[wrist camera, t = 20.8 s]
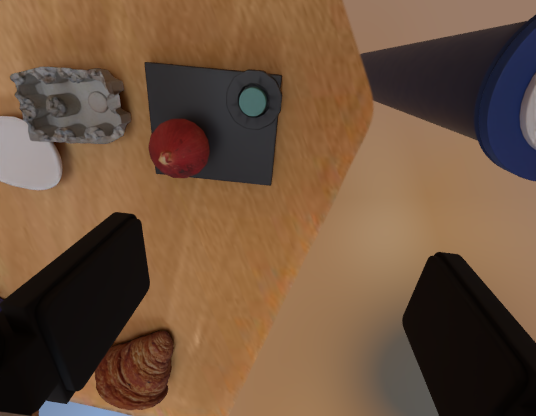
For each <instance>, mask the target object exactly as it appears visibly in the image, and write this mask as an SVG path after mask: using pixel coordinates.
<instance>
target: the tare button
mask: <svg viewBox="0 0 536 416" xmlns="http://www.w3.org/2000/svg"><path fill="white" fill-rule="evenodd" d="M266 104H267V97H266V95H265V93H264V91H263V90H262V89H260V88H258V87H249V88H247V89H245V90H244V91H243V92H242V93H241V95H240V97H239V106H240V108H241V110H242V111H243V112H244V113H245V114H246V115H248V116H258V115H260V114H261V113H262V112H263V111H264V109H265V107H266Z"/></svg>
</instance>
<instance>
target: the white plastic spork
mask: <svg viewBox="0 0 536 416" xmlns="http://www.w3.org/2000/svg"><path fill="white" fill-rule="evenodd" d="M62 170H63V166H62V160H61V156H60V154H59V152H58V150H57V148H56V146H55V145H54V144H53V142H39V141H31V140H30V138H29V133H28V124H27V123H26V122H25V121H23V120H22V119H19V118H15V117H10V116H0V181H1V182H4V183H6V184H9V185H13V186H16V187H21V188H26V189H32V190H46V189H50V188H52V187H54V186H55V185H57V184H58V182H59V181H60V179H61V176H62Z"/></svg>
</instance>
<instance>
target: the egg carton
mask: <svg viewBox="0 0 536 416" xmlns="http://www.w3.org/2000/svg"><path fill="white" fill-rule="evenodd" d="M10 79H11V80H12V81H13V82H15V84H16V87H17V92H16V93H15V97H16V98H17V99H18V100H19V102H20V110H21V111H22V114H23V121H25V122H26V123H27V124H28V133H29V138H30V140H31V141H39V142H66V143H93V144H107V143H111V142H113V141H115V140H116V139H118V138H120V137H122V136H123V135H124V132H125V128H126V125H127V124H128V123H129V122H131V114H130V113H129V112H126V111H124V110H123V109H122V108H121V103H120V97H119V92H121V91H123V90H124V87H123V82H122V81H121V80H118V79H116V78H114V77H113V76H112V75H111V73H110V72H109V71H108V70H105V69H100V68H98V69H97V68H94V69H89V70H76V69H72V68H56V67H39V68H34V69H31V70H27V71H23V72H19V73H14V74H12V75H11V76H10Z"/></svg>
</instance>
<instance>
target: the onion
mask: <svg viewBox="0 0 536 416" xmlns="http://www.w3.org/2000/svg"><path fill="white" fill-rule="evenodd" d="M149 152H150V157H151V159H152V161H153V163H154V165H155V166H156V167H157V168H158V169H159V170H160V171H161V172H162V173H164V174H166V175H168V176H171V177H173V178H188V177H190V176H193V175H195V174H198V173H199V172H200V171H201V170H202V169H203V168H204V166H205V165H206V164H207V161H208V157H209V153H210V150H209V142H208V139H207V137H206V135H205V133H204V131H203V130H202V129H201V128H200V127H199V126H197V125H196V124H195V123H193V122H191V121H189V120H186V119H170V120H168V121H165V122H163V123H161V124H160V125H159V126H158V127H157V128H156V129H155V131H154V132H153V133H152V134H151V138H150V142H149Z"/></svg>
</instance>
